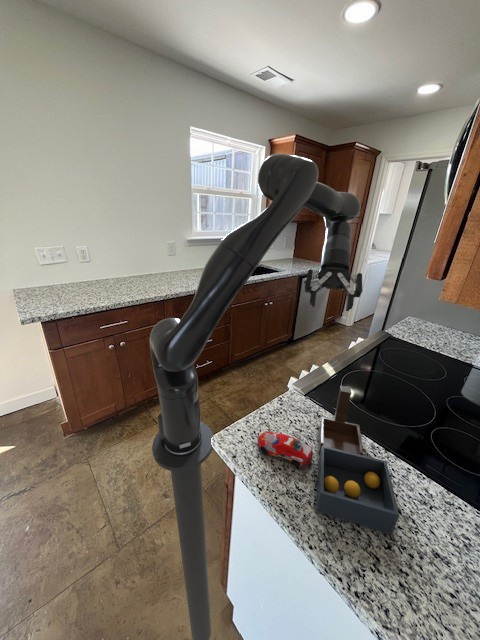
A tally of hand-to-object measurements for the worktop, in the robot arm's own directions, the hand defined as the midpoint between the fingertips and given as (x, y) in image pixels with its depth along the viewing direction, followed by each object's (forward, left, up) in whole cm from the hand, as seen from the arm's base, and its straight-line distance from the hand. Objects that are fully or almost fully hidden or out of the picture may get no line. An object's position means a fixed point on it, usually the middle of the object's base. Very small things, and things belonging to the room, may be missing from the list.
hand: (330, 307), depth 68 cm
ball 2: (+8, -27, -29) cm, 40 cm away
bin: (+8, -27, -31) cm, 41 cm away
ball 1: (+4, -27, -29) cm, 40 cm away
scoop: (+6, -13, -31) cm, 34 cm away
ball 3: (+12, -24, -29) cm, 39 cm away
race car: (-7, -21, -31) cm, 38 cm away
